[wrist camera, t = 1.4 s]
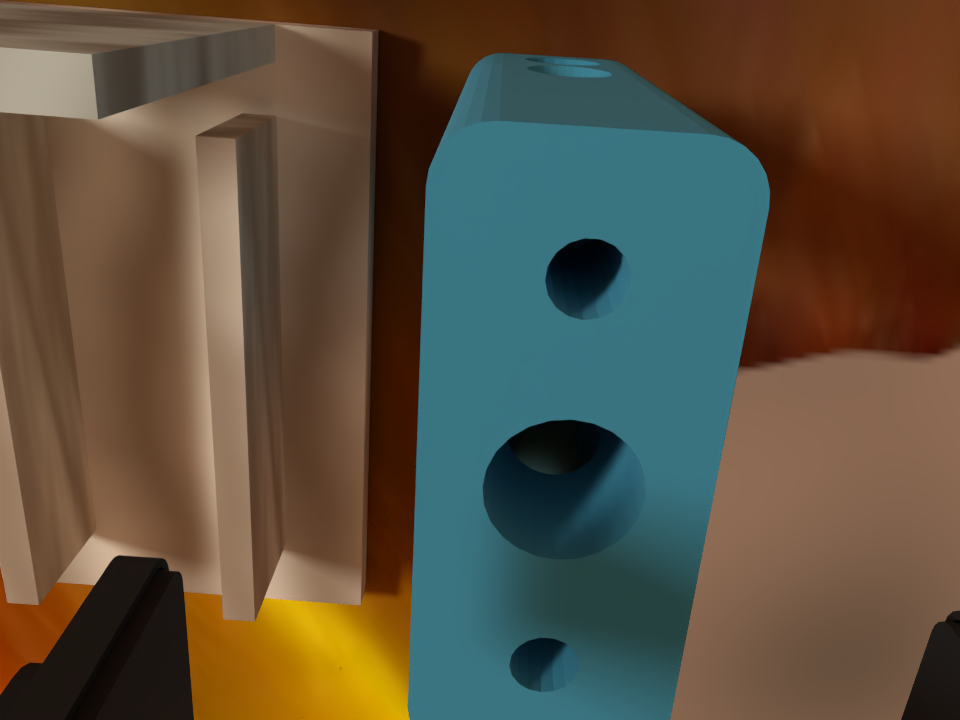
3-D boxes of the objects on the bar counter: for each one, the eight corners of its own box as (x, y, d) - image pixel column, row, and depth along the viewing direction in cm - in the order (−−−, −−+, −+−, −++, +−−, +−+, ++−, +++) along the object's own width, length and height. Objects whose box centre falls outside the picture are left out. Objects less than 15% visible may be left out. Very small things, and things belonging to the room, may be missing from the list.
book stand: (378, 29, 31) (266, 67, 16) (365, 583, 40) (288, 913, 26) (-76, -6, 31) (-584, 2, 16) (20, 557, 40) (-249, 872, 26)
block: (475, 38, 31) (428, 115, 12) (617, 47, 31) (782, 139, 12) (458, 351, 35) (406, 746, 17) (581, 359, 35) (661, 762, 17)
